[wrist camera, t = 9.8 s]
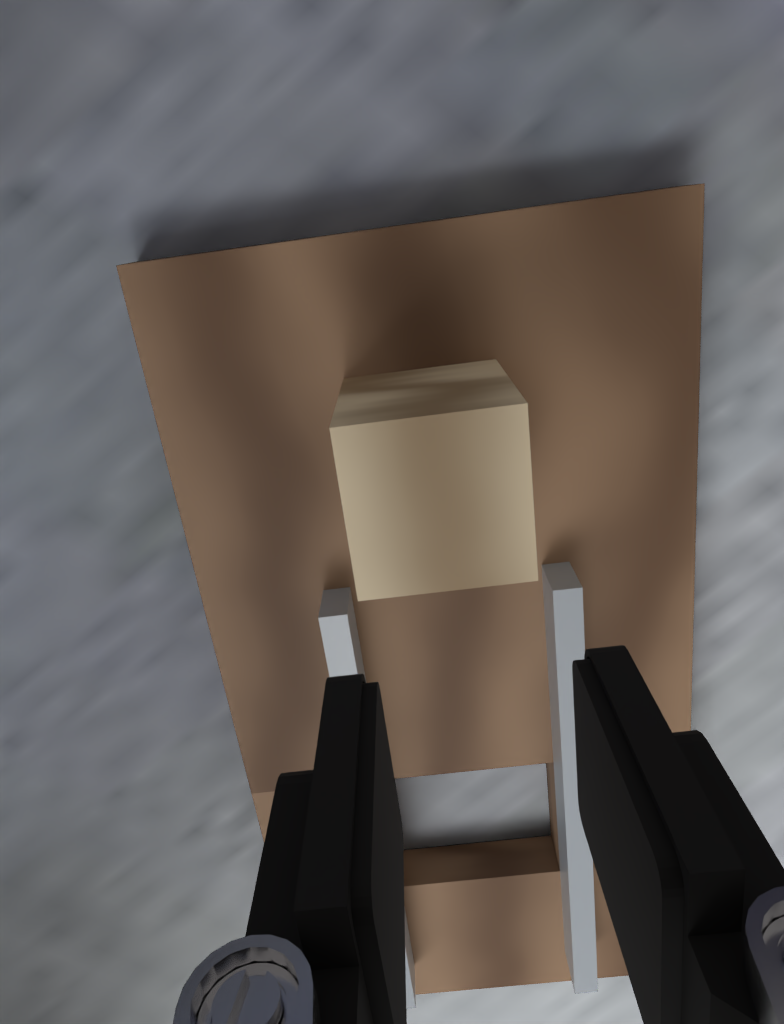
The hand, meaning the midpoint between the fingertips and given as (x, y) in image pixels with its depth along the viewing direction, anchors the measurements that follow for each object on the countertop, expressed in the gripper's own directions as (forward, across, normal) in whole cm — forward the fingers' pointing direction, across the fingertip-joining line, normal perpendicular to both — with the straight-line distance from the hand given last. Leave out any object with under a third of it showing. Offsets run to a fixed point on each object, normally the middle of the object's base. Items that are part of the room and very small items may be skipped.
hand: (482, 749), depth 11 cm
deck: (+17, 0, +10) cm, 20 cm away
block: (+15, 0, 0) cm, 15 cm away
